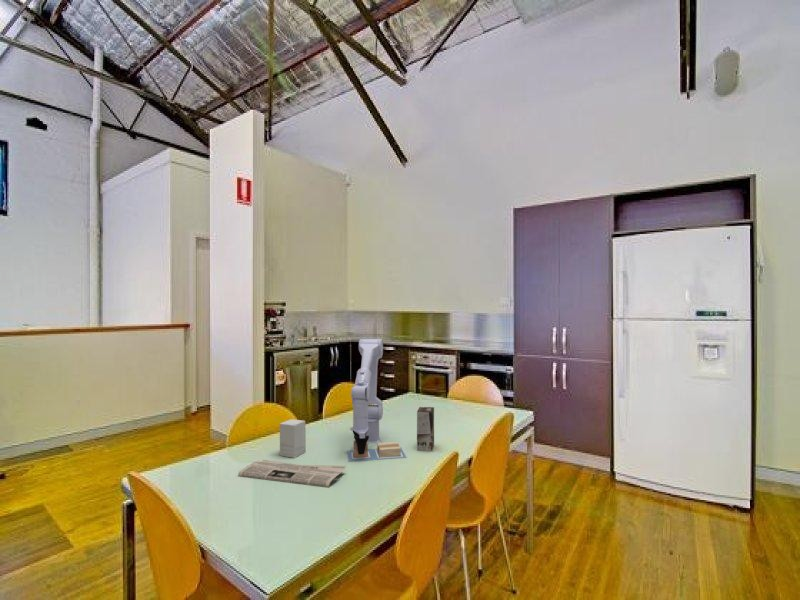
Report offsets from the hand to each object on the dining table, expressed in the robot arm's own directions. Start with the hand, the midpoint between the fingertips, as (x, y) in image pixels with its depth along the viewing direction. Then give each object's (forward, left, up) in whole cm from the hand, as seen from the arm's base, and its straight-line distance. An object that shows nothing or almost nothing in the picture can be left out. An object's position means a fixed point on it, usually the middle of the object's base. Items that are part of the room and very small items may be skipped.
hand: (360, 451), depth 160 cm
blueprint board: (0, +6, -2) cm, 6 cm away
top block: (0, 0, -1) cm, 1 cm away
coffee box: (-4, +27, -2) cm, 27 cm away
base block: (0, +11, -1) cm, 11 cm away
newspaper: (+13, -24, -3) cm, 28 cm away
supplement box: (-8, -26, -2) cm, 27 cm away
